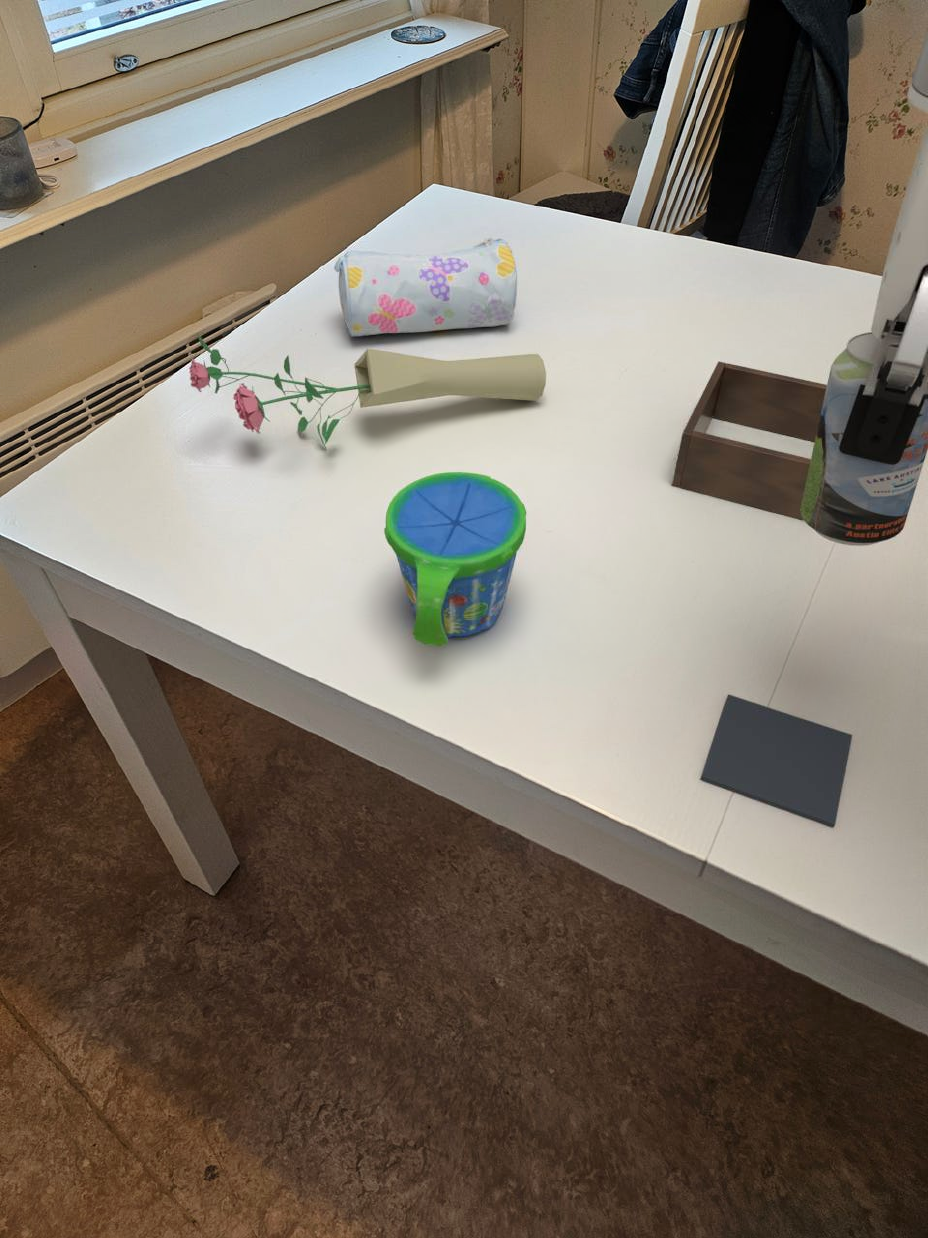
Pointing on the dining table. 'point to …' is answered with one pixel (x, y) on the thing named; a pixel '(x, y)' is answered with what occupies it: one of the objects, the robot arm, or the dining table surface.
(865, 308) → the dining table surface
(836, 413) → the beverage can
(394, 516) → the snack cup
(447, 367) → the flower vase
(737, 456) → the open wooden box
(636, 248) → the dining table surface
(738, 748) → the mat
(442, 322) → the pencil case
